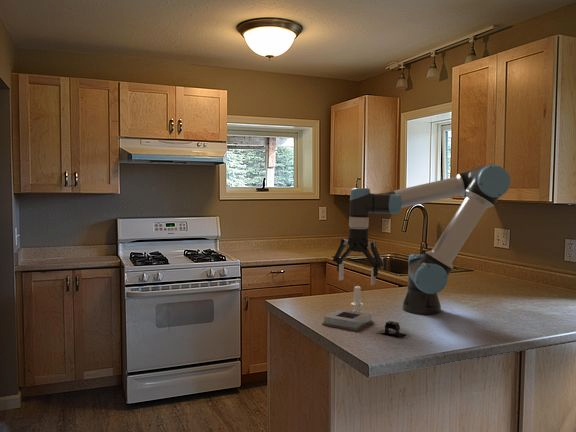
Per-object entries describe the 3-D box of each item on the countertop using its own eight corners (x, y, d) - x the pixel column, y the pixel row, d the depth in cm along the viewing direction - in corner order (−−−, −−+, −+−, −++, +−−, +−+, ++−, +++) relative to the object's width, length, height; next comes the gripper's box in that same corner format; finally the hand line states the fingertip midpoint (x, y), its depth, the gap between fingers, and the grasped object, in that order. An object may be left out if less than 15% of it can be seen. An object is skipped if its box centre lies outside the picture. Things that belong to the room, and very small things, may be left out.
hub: (373, 322, 185) (373, 314, 185) (357, 331, 173) (357, 322, 173) (339, 316, 193) (339, 308, 192) (322, 324, 181) (322, 316, 181)
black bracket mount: (371, 334, 172) (371, 321, 171) (379, 329, 178) (380, 317, 177) (405, 341, 165) (405, 328, 164) (413, 336, 171) (413, 323, 170)
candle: (365, 315, 195) (366, 284, 195) (361, 318, 191) (362, 287, 190) (352, 313, 198) (353, 283, 197) (348, 316, 193) (348, 285, 192)
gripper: (393, 229, 188) (390, 285, 190) (334, 225, 202) (332, 276, 203) (385, 231, 182) (383, 288, 184) (325, 226, 196) (323, 279, 197)
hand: (356, 282), depth 193 cm, fingers open, 13 cm apart
